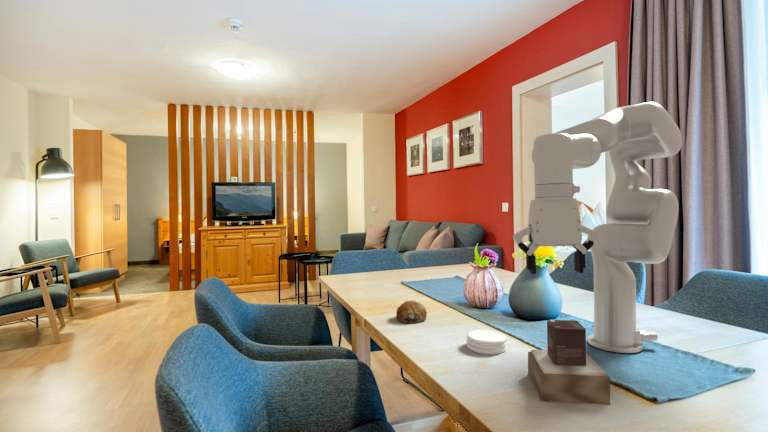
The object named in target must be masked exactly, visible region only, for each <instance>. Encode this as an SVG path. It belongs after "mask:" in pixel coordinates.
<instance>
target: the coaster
mask: <svg viewBox="0 0 768 432" xmlns="http://www.w3.org/2000/svg"><path fill="white" fill-rule="evenodd" d="M507 340H508V339H507V336H506V335H505V334H504V333H502V332H499V331H496V330H493V329H491V330H490V329H475V330H471V331H470V332H469V331H468V333H467V335H466V347H467V348H468V349H469V350H470V351H471V352H473V353H477V354H480V355H487V356H488V355H489V356H490V355H491V356H493V355H501V354H503V353H505V352H506V351H507V348H508V347H507V346H508V345H507V344H508V343H507Z"/></svg>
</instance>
